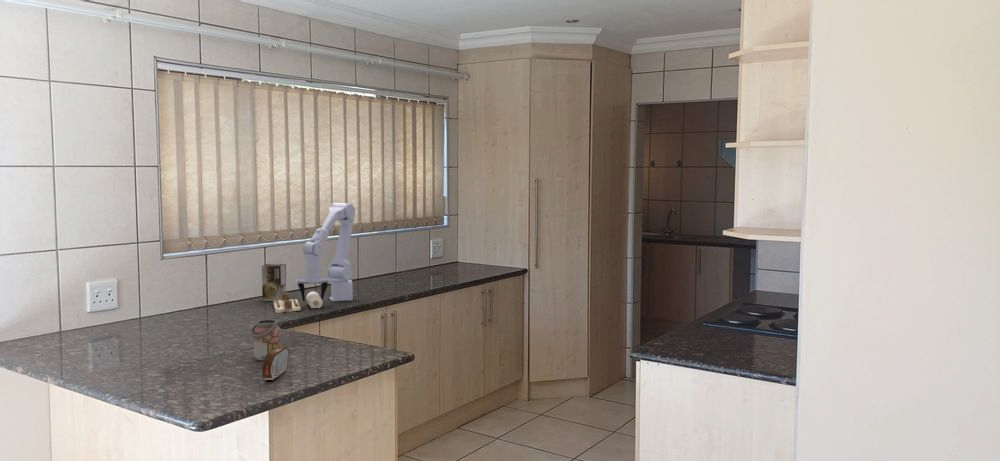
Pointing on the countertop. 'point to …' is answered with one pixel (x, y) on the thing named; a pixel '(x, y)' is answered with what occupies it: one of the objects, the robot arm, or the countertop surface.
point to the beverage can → (265, 337)
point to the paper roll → (314, 300)
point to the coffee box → (273, 281)
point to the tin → (275, 361)
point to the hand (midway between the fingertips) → (312, 300)
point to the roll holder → (286, 304)
